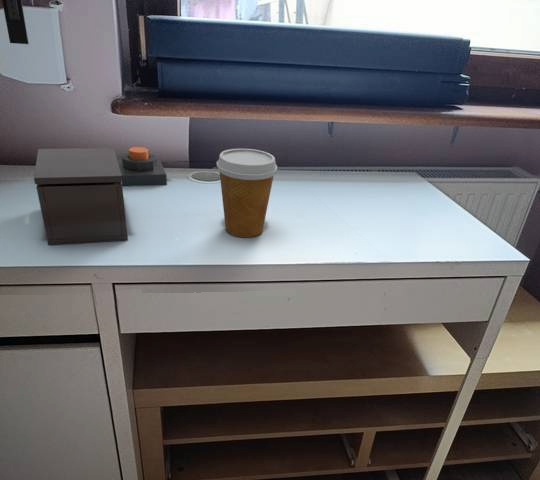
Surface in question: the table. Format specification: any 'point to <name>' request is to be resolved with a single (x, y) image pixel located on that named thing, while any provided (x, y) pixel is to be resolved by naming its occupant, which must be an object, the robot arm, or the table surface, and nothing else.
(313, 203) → the table surface
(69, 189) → the dark brown box
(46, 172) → the grey box lid
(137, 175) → the block
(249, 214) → the disposable coffee cup
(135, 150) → the button
